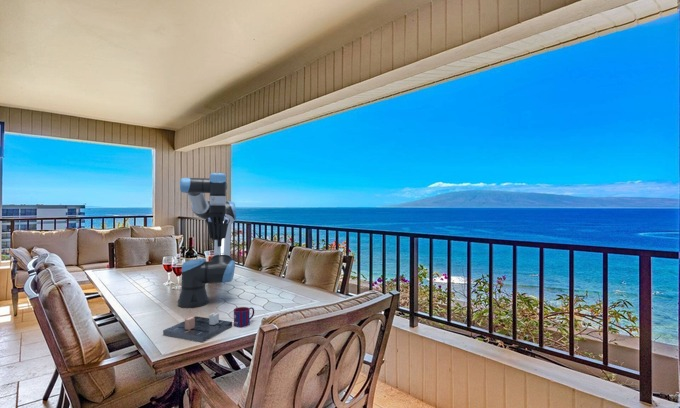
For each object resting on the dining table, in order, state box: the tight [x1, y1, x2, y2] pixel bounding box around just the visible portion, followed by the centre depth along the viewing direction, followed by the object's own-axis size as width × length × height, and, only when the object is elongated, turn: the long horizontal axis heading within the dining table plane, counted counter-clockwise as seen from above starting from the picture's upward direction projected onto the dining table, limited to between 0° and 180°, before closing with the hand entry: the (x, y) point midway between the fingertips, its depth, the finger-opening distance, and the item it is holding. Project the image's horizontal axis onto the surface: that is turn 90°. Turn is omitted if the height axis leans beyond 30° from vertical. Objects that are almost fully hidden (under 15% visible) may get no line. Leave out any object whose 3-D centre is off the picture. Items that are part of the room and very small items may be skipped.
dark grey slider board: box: [162, 315, 233, 343], centre depth 142 cm, size 20×18×2 cm
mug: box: [233, 306, 255, 328], centre depth 151 cm, size 7×10×7 cm
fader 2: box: [208, 312, 220, 325], centre depth 145 cm, size 2×3×4 cm
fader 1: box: [184, 316, 195, 330], centre depth 139 cm, size 2×3×4 cm
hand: (217, 253), depth 165 cm, fingers closed
